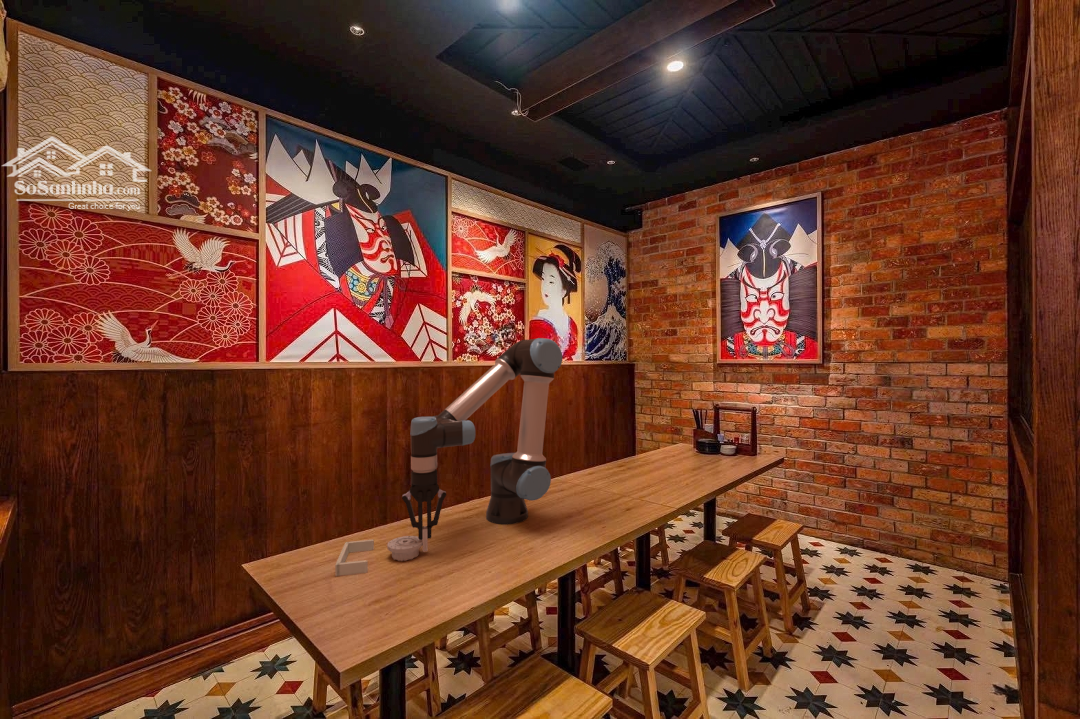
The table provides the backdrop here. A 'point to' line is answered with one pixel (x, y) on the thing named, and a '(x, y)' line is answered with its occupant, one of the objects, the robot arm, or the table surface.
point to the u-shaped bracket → (355, 566)
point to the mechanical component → (405, 547)
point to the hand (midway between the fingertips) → (425, 549)
